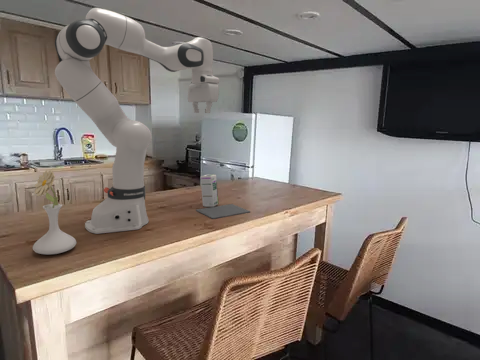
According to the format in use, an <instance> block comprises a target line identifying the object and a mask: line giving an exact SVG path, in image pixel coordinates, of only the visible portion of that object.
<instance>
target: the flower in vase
mask: <svg viewBox="0 0 480 360" xmlns="http://www.w3.org/2000/svg"><path fill="white" fill-rule="evenodd" d="M55 178H56V175H55V172H53V170H52V169H49V170H47V169H46V170H45V171H44V172H43V173H42V174H40V175H39V176H38V179H37V183H36V184H35V185H34V188H35V190H34V195H36V196H37V198H38V197H42V196H45V199H47V200H48V201H50V202H52V203H49V204H45V205H43V206H42V209H43V210H44V211H45V212H46V215H47V216H48V223H49V225H48V226H49V228H48V231H47V232H46V233H45V234H44V235H42V236H41V237H40V238H39V239H37V240H36V241H35V243H34V244H33V245H32V250H33V252H35V253H36V254H39V255H40V254H41V255H57V254H61V253H62V254H63V253H65V252H67V251H70V250H72V249H74V247H75V246H76V245H77V240H76V238H75V237H73V236H72V235H70V234H69V233H66V232H64V231H63V230H61V229H60V226H59V214H60V210H61V209H62V207H63V204H61V203H59V202H58V200H59V196H56V193H55V190H54V189H53V187H52V186H53V185H54V181H55ZM50 190H51V192H52V194H53V196H54V197H53V196H52V195H51V194H50V193H49V191H50Z"/></svg>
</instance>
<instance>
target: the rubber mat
mask: <svg viewBox="0 0 480 360" xmlns="http://www.w3.org/2000/svg"><path fill="white" fill-rule="evenodd" d="M195 211H196V212H197V213H200V214H201V215H204V216H205V217H206V218H207V217H208V218H210V219H211V220H216V219H221V218H222V219H223V218H226V217H232V216H233V217H234V216H237V215H242V214H243V215H244V214H250V213H251V210H248V209H245V208H244V207H241V206H238V205H236V204H233V203H231V204H223V205H216V206H214V207H204V208H198V209H197V208H196V209H195Z"/></svg>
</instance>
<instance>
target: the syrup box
mask: <svg viewBox="0 0 480 360" xmlns="http://www.w3.org/2000/svg"><path fill="white" fill-rule="evenodd" d="M217 181H218V180H217V174H216V173H215V174H213V173H210V174H204V175H201V176H200V188H201V199H202V206H203V207H204V208H209V207H216V206H218V205H219V196H218V194H219V191H218V182H217Z"/></svg>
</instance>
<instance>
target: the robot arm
mask: <svg viewBox="0 0 480 360" xmlns="http://www.w3.org/2000/svg"><path fill="white" fill-rule="evenodd" d="M106 45H107V46H110V47H113V48H114V49H118V50H121V51H124V52H128V53H133V54H136V55H138V56H141V57H144V58H146V59H149V60H150V61H154V62H156V63H158V64H159V65H160V66H162V67H163V68H164V69H165V70H166V71H168V72H171V73H175V72H179V71H184V70H187V69H191V83H190V84H189V85H188V89H187V101H188V102H189V103H192V108H193V113H195V114H199V113H200V108H199V103H205V104H206V107H205V109H204V113H205V114H211V109H212V106H213V103H217V102H218V100H219V95H220V93H219V92H220V91H219V90H220V89H219V83H220V78H219V77H217V76H214V72H213V64H214V50H213V49H214V48H213V44H212V42H211V41H210V40H209V39H208V38H206V37H201V36H197V37H194V38H193V39H192V40H190V41H187V42H183V43H179V44H176V45H171V46H161V45H159V44H157V43H154V41H153V42H152V41H150V40H148V39H147V38H146V32H145V29H144V27H143V25H142V24H141V23H139V22H137V21H136V20H134V19H133V18H131V17H130V16H129V17H128V16H126V15H124V14H121V13H119V12H115V11H113V10H109V9H105V8H100V7H93V8H91V9H90V10H89V11H88V12H87V14H85V19H78V20H75V21H72V22H71V23H70V24H68V25H65V26H64V27H63V28H62V29H61V30H60V31H59V32H58V33H57V35H56V36H55V39H54V47H55V51H56V54H57V57H58V60H59V61H58V62H59V63H58V64H57V65H56V66H55V68H54V69H55V70H54V76H55V78H56V80H57V82H58V83H59V85H60V86H61V88H63V89H64V91H65V92H66V94H67V95H68V96H69V97H70V98H71V100H73V102H74V103H75V104H76V105H78V107H79V108H80V109H81V110H82V111H83V112H84V113H85V115H87V116H88V118H89V119H91V121H92V123H94V125H95V126H96V127H97V128H98V130H99V131H100V132H101V134H102V135H103V136H104V138H105V139H106V140H107V142H109V143H110V144H111V145H112V146H113V147H115V148H116V150H115V157H114V162H113V163H112V172H111V173H112V187H110V188H109V187H107V186H106V187H104V188H103V192H104V193H105V194H107V197H106V198H105V199H104V200H103V201H101V202H100V203H98V205H96V206H95V207H94V208H93V210H92V212H91V219H89V220H86V221H85V223H84V228H85V229H86V230H87V231H88V232H89V233H92V234H95V235H96V234H105V233H106V234H107V233H116V232H118V233H119V232H126V231H134V230H136V231H137V230H141V229H142V227H143V226H145V225H147V224H148V223H149V217H148V214H147V209H146V201H145V200H146V186H145V179H144V178H145V175H144V174H145V161H146V157H147V150H148V147H149V146H150V145H151V143H152V140H153V139H152V138H153V137H152V132H151V130H150V128H149V127H148V126H147V125H146V124H144V123H142V122H141V121H139V120H136V119H135V120H133V119H130V118H129V117H128V116H127V115H126V114H125V112H124V110H123V108H122V107H121V105H120V102H119V101H118V99H117V98H116V96H115V95H114V94H113V93H112V92H111V91H110V89H109V88H108V87H107V86H106V85H105V83H104V82H103V81H102V79H100V78H99V77H98V76H97V74H96V73H95V72H94V70H93V69H92V65H91V62H90V60H92V59H93V58H95V57H97V56H98V55H99V54H100V53H101V52H102V50H103V49H104V48H103V47H104V46H106Z"/></svg>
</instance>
